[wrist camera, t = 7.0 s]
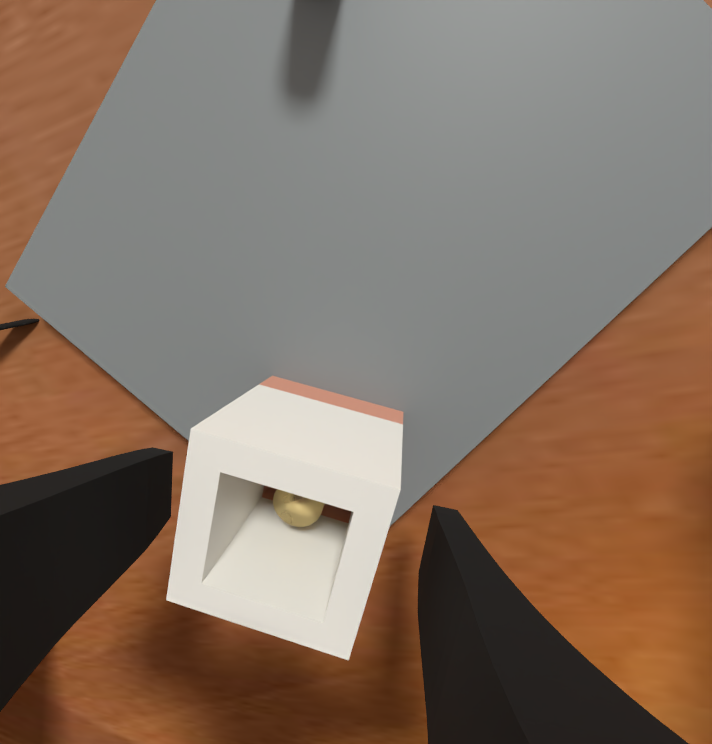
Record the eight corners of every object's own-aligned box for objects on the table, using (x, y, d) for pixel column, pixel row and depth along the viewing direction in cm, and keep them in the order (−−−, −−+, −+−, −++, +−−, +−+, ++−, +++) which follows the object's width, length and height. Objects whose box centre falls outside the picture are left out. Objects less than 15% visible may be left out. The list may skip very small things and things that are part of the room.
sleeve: (403, 411, 13) (400, 489, 8) (369, 528, 14) (348, 660, 9) (272, 375, 13) (190, 428, 8) (249, 492, 14) (165, 599, 9)
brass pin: (349, 456, 13) (332, 504, 10) (324, 482, 13) (301, 536, 11) (319, 430, 13) (293, 471, 10) (294, 457, 13) (263, 503, 11)
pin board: (770, 142, 11) (826, 120, 9) (348, 544, 16) (342, 570, 14) (351, -262, 10) (342, -353, 9) (44, 286, 15) (4, 286, 14)
